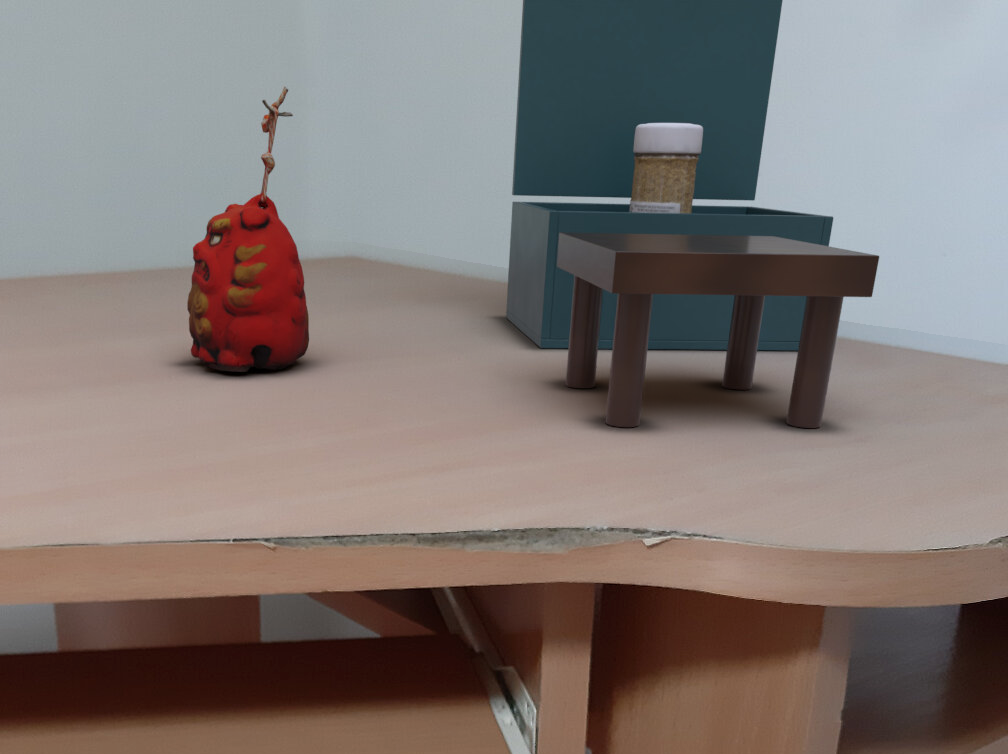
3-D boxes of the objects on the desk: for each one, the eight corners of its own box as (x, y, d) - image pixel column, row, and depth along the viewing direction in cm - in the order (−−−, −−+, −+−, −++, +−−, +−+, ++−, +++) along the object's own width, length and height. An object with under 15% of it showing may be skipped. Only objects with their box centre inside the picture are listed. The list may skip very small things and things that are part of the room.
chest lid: (786, -25, 75) (781, -23, 76) (526, -35, 74) (524, -33, 75) (754, 200, 81) (750, 200, 82) (513, 195, 80) (511, 195, 80)
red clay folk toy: (174, 357, 64) (157, 83, 58) (283, 351, 67) (277, 89, 62) (215, 380, 58) (200, 76, 52) (332, 372, 61) (331, 83, 55)
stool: (752, 381, 61) (774, 236, 58) (847, 432, 50) (879, 255, 47) (548, 380, 60) (559, 232, 57) (599, 431, 49) (615, 251, 46)
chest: (811, 351, 72) (834, 216, 69) (540, 348, 71) (549, 210, 67) (736, 320, 85) (752, 206, 82) (505, 317, 84) (512, 201, 80)
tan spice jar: (692, 325, 78) (717, 124, 72) (656, 331, 75) (680, 122, 69) (640, 318, 81) (660, 124, 75) (603, 323, 78) (622, 122, 72)
